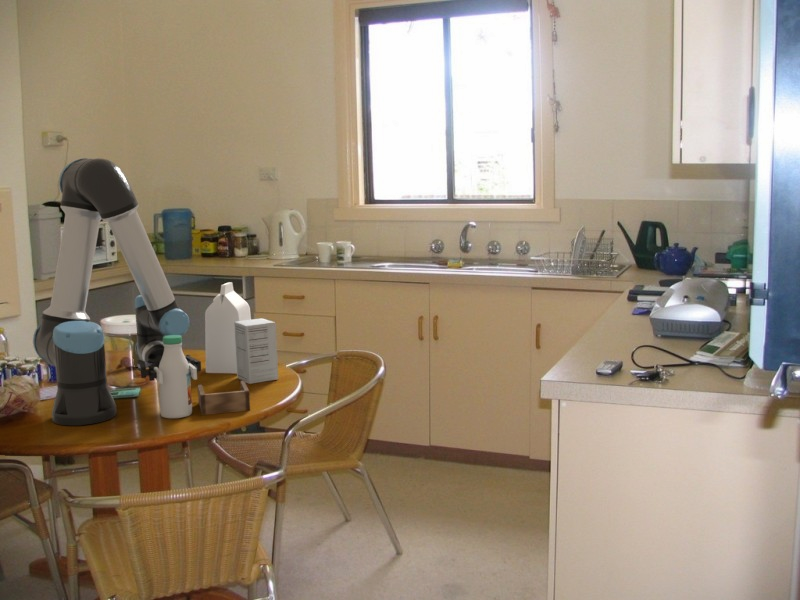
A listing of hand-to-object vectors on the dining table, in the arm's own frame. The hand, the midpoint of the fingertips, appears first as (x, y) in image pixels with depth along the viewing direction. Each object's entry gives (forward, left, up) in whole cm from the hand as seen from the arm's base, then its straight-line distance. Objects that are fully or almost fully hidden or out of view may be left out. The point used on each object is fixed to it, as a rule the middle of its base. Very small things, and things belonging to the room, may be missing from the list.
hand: (178, 375), depth 217 cm
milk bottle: (-1, +5, -11) cm, 12 cm away
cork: (-9, +64, -11) cm, 65 cm away
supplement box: (+23, +35, -11) cm, 43 cm away
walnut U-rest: (+11, +9, -11) cm, 18 cm away
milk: (+17, +51, -11) cm, 55 cm away
